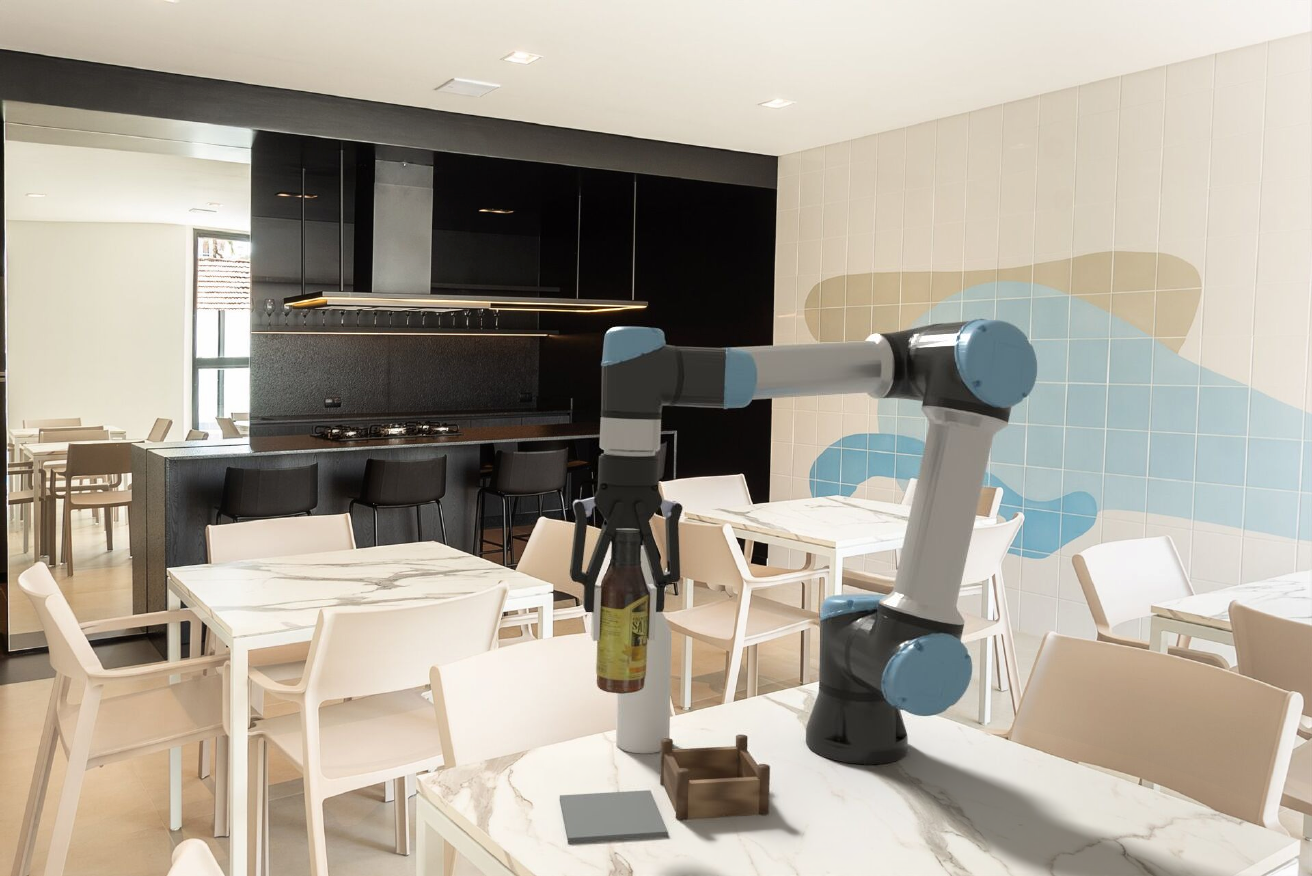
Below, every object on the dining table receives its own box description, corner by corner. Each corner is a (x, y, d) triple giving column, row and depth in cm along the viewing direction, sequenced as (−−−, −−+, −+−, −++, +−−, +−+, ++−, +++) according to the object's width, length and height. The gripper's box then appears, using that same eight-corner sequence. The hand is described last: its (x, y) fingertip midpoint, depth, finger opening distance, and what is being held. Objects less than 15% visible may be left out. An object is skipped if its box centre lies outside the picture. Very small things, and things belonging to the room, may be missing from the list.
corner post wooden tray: (744, 776, 136) (745, 734, 135) (770, 814, 124) (771, 768, 124) (659, 781, 134) (660, 738, 133) (677, 820, 122) (677, 773, 121)
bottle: (675, 752, 144) (679, 550, 143) (621, 755, 142) (625, 552, 141) (662, 732, 152) (666, 541, 150) (611, 736, 150) (614, 542, 149)
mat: (650, 794, 129) (650, 790, 129) (667, 836, 118) (667, 831, 118) (559, 799, 127) (559, 795, 127) (567, 842, 115) (568, 837, 115)
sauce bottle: (639, 698, 118) (645, 535, 117) (589, 693, 119) (595, 531, 118) (650, 682, 125) (656, 528, 124) (603, 677, 126) (608, 524, 125)
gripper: (698, 452, 126) (691, 629, 127) (549, 448, 123) (543, 630, 124) (712, 457, 119) (704, 645, 120) (553, 452, 115) (547, 646, 116)
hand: (622, 637), depth 122 cm, fingers closed on sauce bottle, 6 cm apart
